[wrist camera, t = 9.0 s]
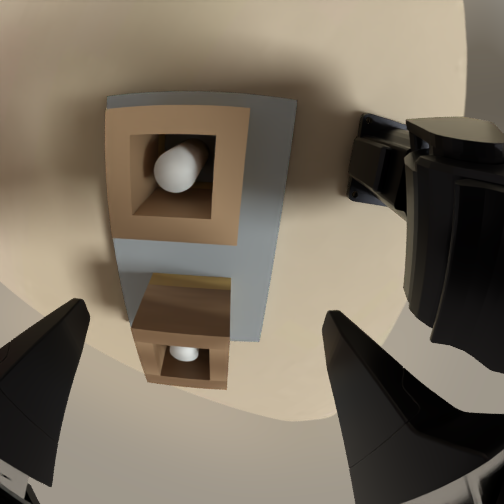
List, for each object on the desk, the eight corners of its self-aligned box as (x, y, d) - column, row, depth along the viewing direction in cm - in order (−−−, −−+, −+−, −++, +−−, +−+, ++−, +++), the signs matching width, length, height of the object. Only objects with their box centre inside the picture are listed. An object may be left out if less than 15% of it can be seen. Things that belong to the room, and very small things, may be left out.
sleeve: (227, 332, 23) (226, 389, 18) (161, 327, 23) (147, 382, 18) (231, 277, 20) (230, 337, 15) (153, 272, 20) (130, 328, 15)
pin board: (114, 96, 14) (53, 97, 8) (293, 100, 15) (328, 96, 9) (135, 322, 24) (114, 382, 18) (258, 332, 25) (264, 396, 19)
